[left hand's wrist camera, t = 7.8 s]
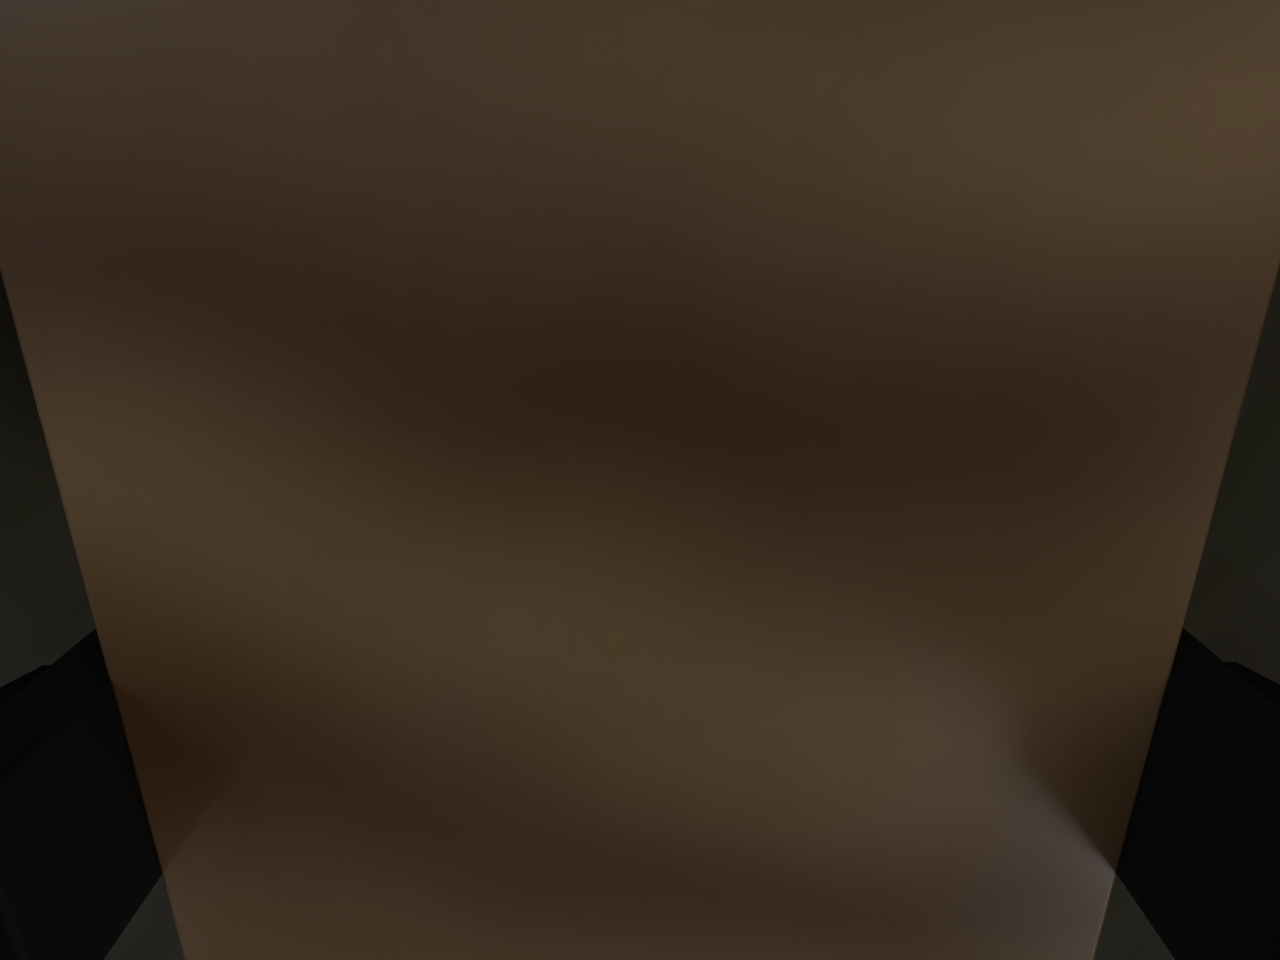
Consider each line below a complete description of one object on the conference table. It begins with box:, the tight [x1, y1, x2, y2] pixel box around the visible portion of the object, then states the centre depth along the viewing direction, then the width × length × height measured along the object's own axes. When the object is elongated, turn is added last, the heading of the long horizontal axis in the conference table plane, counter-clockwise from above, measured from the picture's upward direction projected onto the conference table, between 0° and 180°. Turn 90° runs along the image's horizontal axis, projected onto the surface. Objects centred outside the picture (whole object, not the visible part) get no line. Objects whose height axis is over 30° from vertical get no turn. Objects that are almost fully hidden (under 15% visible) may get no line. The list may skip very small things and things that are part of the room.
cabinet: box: [0, 0, 1280, 960], centre depth 11 cm, size 18×11×9 cm, turn 0°
